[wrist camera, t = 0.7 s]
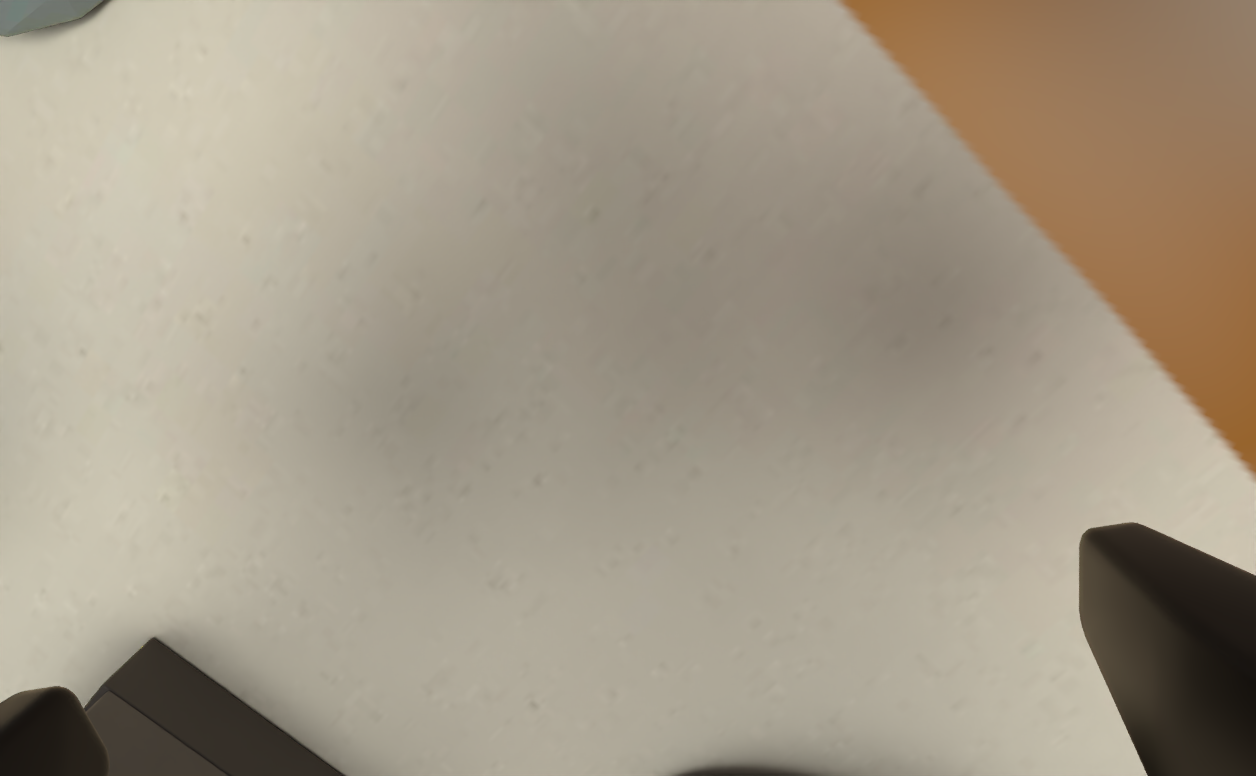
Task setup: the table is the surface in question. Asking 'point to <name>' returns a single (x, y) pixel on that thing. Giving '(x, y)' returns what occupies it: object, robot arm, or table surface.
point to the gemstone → (40, 14)
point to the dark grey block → (187, 725)
